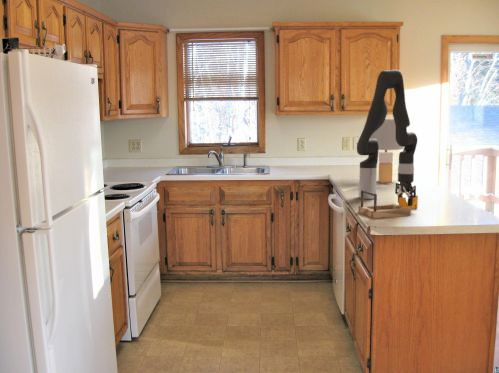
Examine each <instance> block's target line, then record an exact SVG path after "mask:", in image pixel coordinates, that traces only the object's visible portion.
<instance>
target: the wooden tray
mask: <svg viewBox="0 0 499 373" xmlns="http://www.w3.org/2000/svg"><path fill="white" fill-rule="evenodd" d="M363 193H366V194H369V195H373V196H374V199H373V204H371V205H368V204H367V205H364V199H363ZM377 203H378V194H377V193H376V194H373V193H370V192H367V191H364V190H361V198H360V205H359V206H358V213H360V214H362V215H365V216H367V217H370V218H372V217H373V219H381V218H382V217H385V218H393V217H394V218H396V217H404V216H405V217H407V216H411V210H412V209H409V208H405V207H402V206H399V204H396V203H383V204H377ZM382 219H383V218H382Z"/></svg>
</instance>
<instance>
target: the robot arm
mask: <svg viewBox="0 0 499 373" xmlns="http://www.w3.org/2000/svg"><path fill="white" fill-rule="evenodd" d="M375 84H376V85H375V89H374V95H373V99H372V101H371V104H370V107H369V109H368V114H367V117H366V120H365V124H364V126H363V130H362V132H361V134H360V136H359V138H358V140H357V144H356V153H357V154H358V155H360V156H368V157H367V158H366V159H364V160H362V161H360V162H359V180H358V197H359V199H361V190H364V191H367V192H370V193H373V194H377V167H378V163H379V151H380V150H379V145H378V141H377V140H376V139H374V138H370V137H371V136H372V134H373V133H374V132H375V131H376V130H378V129H379V128H380V127H381V126H382V124H383V123H384V121H385V119H386V117H387V115H388V106H387V102H386V100H385V97H386V93H387V91H388V90H390V89H393V91H394V93H395V96H394V97H395V98H394V103H393V107H392V118H393V119H394V122H395V125H396V130H395V131H396V141H397V143H398V145H399V146H402V147H404V149H402V151H400V152H399V153H398V166H397V181H396V182H395V189H394V192H395V193H394V194H395V195H396V196H397V204H399V198H400V197H403V194H405V195H406V196H407V198H408V199H407V201H408V206H412V204H413V198H415V197H416V195H417V193H416V192H417V189H416V188H417V187H416V185H413V184H412V183H414V176H415V166H414V158H415V157H414V155H415V153H416V148H417V145H418V137H417V135H416V133H415V132H413V131H408V130H407V128H408V127H410V125H411V122H410V118H409V114H408V110H407V105H406V97H405V96H406V95H405V85H404V78H403V74H402V72H401V71H400V70H398V69H386V70H382V71H381V72H379V74H378V76H377V80H376V83H375ZM403 198H404V197H403ZM363 200H374V196H373V195H369V194H366V193H363Z"/></svg>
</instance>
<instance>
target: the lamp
mask: <svg viewBox="0 0 499 373" xmlns="http://www.w3.org/2000/svg"><path fill="white" fill-rule="evenodd" d="M395 130H396V125H395V122H394V118H393V119H391V118H387V119H386V118H385V121H384V123H383V124H382V126H381V127H380V128H379V129H378V130H376V131H375V132H374V133H373V134H372V136H371V137H370V138H374V139H376V140H377V141H378V145H379V150H378V178H377V179H378V183H380V184H387V183H388V184H389V183H393V163H394V162H393V159H394V157H393V156H394V153H393V152H392V151H397V150H398V151H399V150H404V147H402V146H399V145H398V143H397V141H396V131H395Z"/></svg>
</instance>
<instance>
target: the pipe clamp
mask: <svg viewBox="0 0 499 373" xmlns="http://www.w3.org/2000/svg"><path fill="white" fill-rule="evenodd" d="M418 200H419V195H418V194H416V197H415V198H413V204H412V206H408V200H407V197H400V198H399V203H398V205H399V206H402V207H405V208H409V209H411V210H414V209H418V205H419V204H418V202H419V201H418Z"/></svg>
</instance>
